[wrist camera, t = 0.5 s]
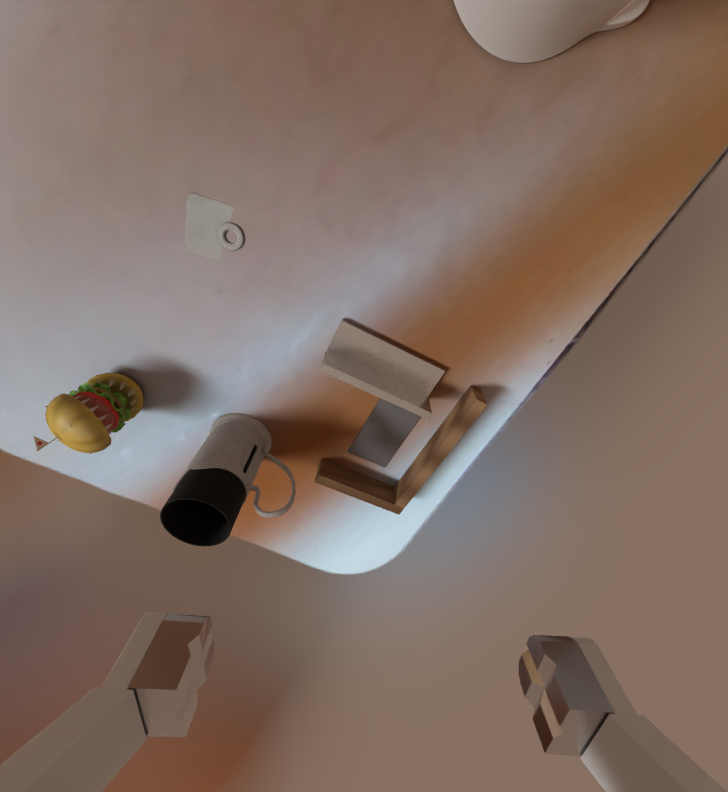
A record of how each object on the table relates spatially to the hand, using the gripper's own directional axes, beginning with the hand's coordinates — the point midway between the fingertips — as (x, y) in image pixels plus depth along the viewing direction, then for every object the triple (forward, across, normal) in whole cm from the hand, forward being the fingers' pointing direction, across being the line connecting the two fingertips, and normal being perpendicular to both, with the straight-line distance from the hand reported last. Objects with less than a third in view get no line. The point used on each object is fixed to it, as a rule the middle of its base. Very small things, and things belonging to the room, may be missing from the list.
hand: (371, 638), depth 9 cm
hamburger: (+39, +31, +13) cm, 52 cm away
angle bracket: (+37, -3, +5) cm, 38 cm away
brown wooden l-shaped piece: (+38, -6, +14) cm, 41 cm away
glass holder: (+39, +13, +19) cm, 45 cm away
